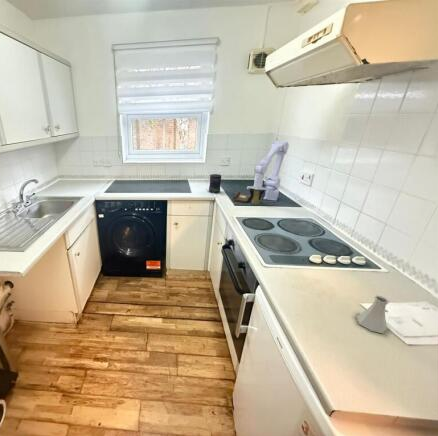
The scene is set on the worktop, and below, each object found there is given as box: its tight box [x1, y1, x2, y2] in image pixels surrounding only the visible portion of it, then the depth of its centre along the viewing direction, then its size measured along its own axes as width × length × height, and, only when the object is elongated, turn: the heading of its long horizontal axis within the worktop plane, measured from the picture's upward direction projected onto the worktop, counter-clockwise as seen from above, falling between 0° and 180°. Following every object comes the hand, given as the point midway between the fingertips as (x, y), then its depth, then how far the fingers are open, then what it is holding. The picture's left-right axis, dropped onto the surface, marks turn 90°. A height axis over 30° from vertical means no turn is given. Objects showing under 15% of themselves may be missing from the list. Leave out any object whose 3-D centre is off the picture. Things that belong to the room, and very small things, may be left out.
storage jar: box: [208, 173, 222, 194], centre depth 211 cm, size 10×10×15 cm
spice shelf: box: [232, 190, 251, 204], centre depth 192 cm, size 10×18×4 cm, turn 148°
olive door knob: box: [250, 189, 261, 205], centre depth 180 cm, size 6×6×11 cm
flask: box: [356, 295, 390, 334], centre depth 73 cm, size 7×7×10 cm
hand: (255, 199), depth 181 cm, fingers closed on olive door knob, 5 cm apart
